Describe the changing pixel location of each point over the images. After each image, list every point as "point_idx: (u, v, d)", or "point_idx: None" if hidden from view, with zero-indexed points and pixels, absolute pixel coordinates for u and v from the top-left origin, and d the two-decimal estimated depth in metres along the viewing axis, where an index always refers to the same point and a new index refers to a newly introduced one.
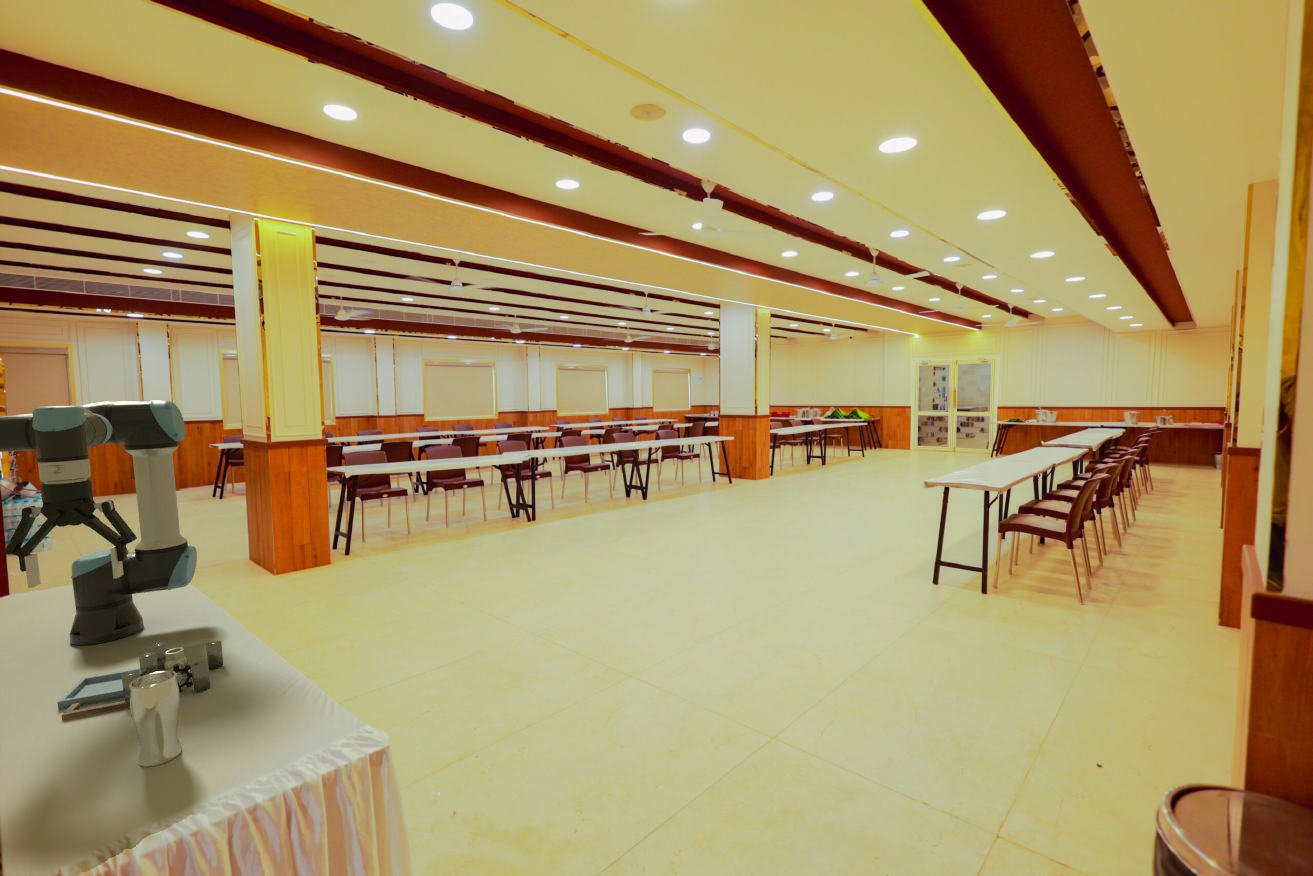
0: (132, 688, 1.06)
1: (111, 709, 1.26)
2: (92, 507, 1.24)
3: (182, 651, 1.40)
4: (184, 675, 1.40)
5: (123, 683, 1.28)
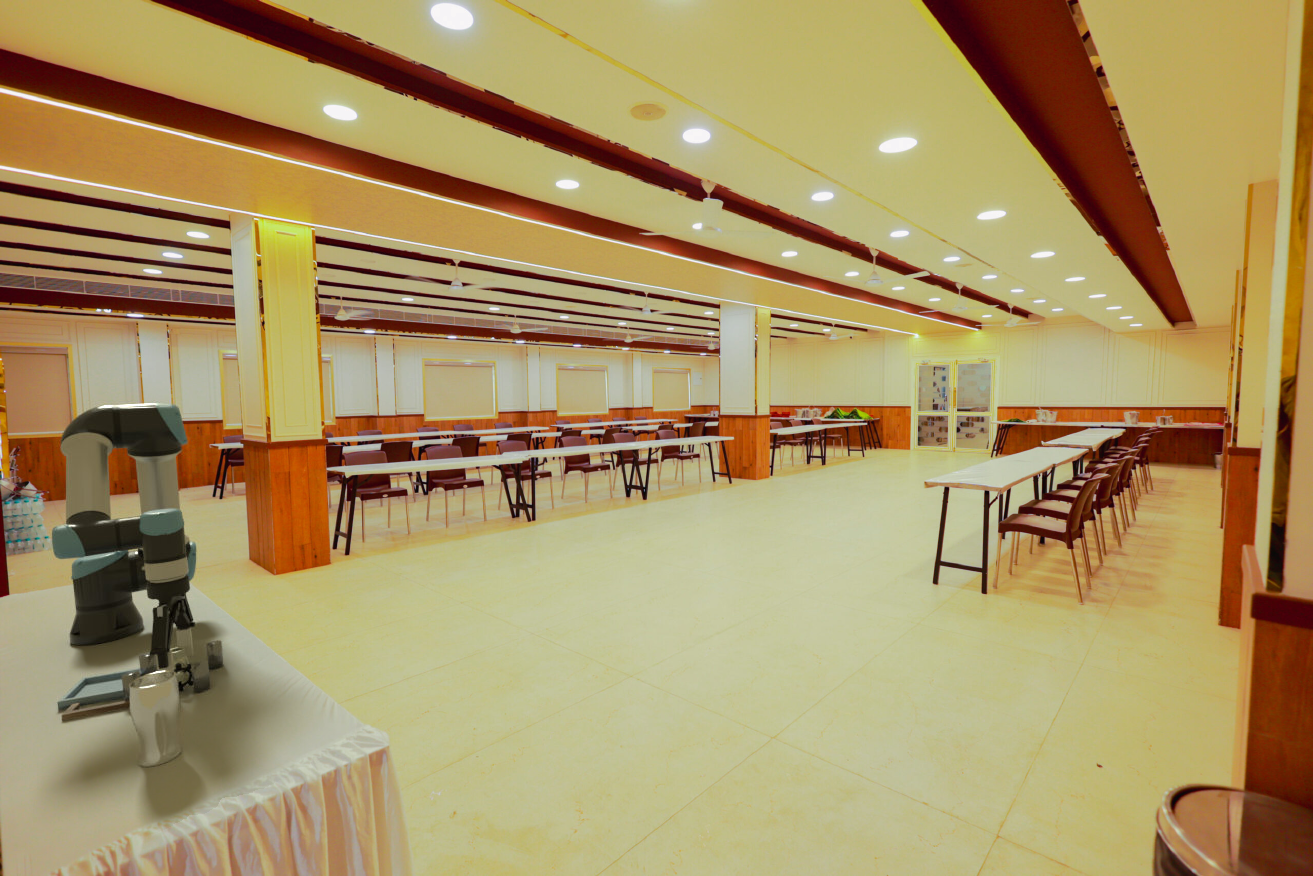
0: (132, 688, 1.06)
1: (111, 709, 1.26)
2: None
3: (183, 650, 1.41)
4: (185, 674, 1.41)
5: (123, 683, 1.28)
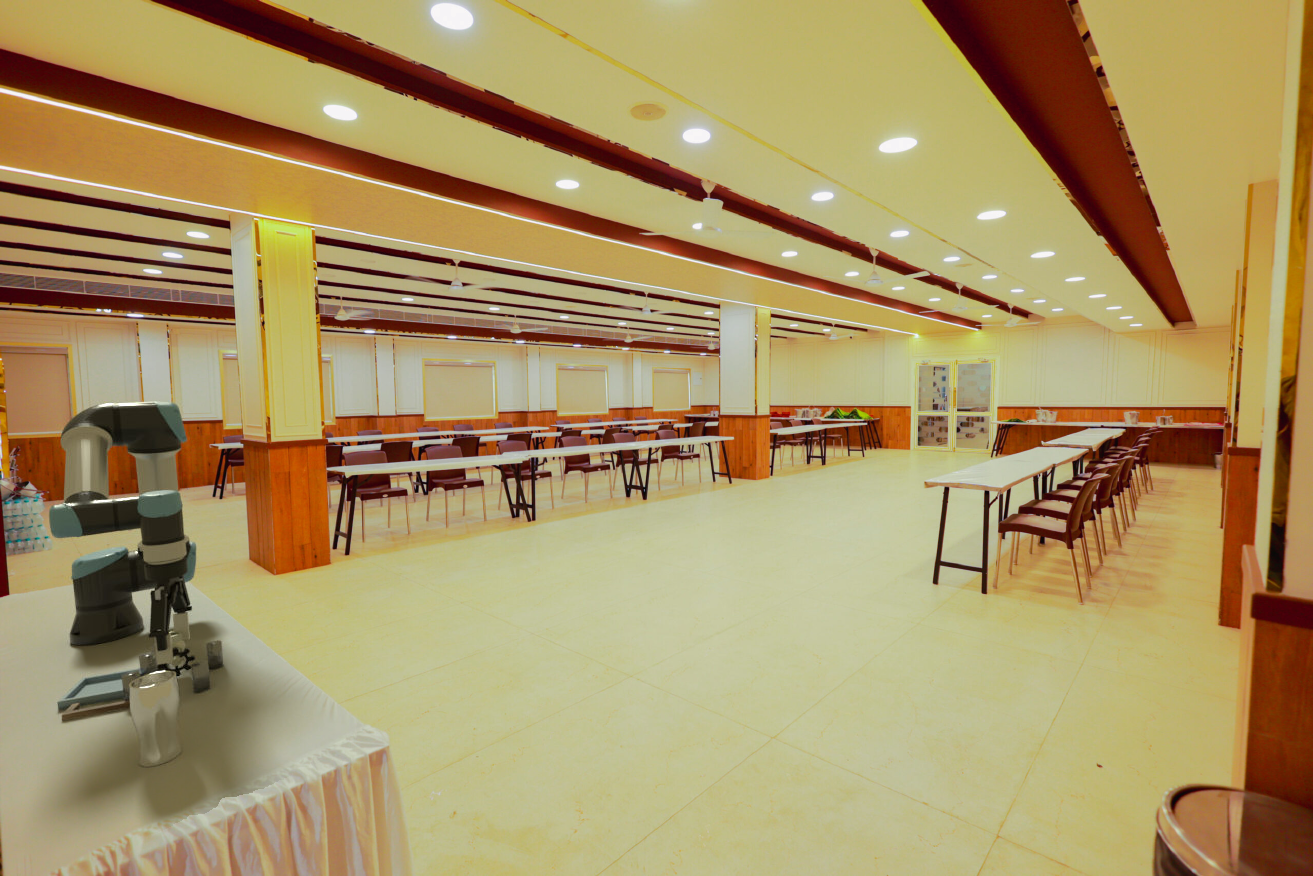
0: (132, 688, 1.06)
1: (111, 709, 1.26)
2: None
3: (180, 634, 1.40)
4: (182, 658, 1.41)
5: (123, 683, 1.28)
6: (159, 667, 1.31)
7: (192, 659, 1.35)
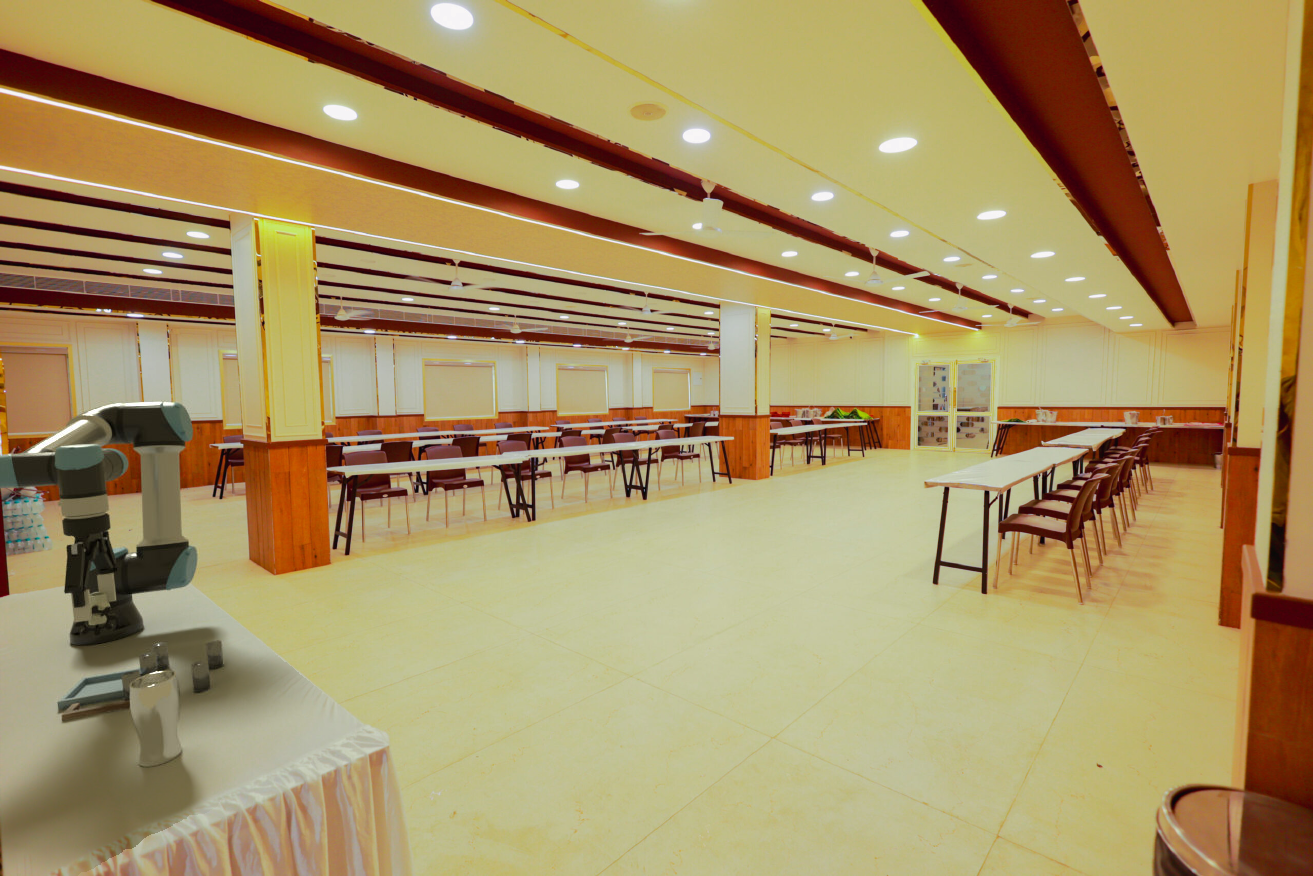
0: (132, 688, 1.06)
1: (111, 709, 1.26)
2: None
3: (104, 595, 1.36)
4: (106, 620, 1.36)
5: (123, 683, 1.28)
6: (77, 625, 1.27)
7: (113, 618, 1.31)
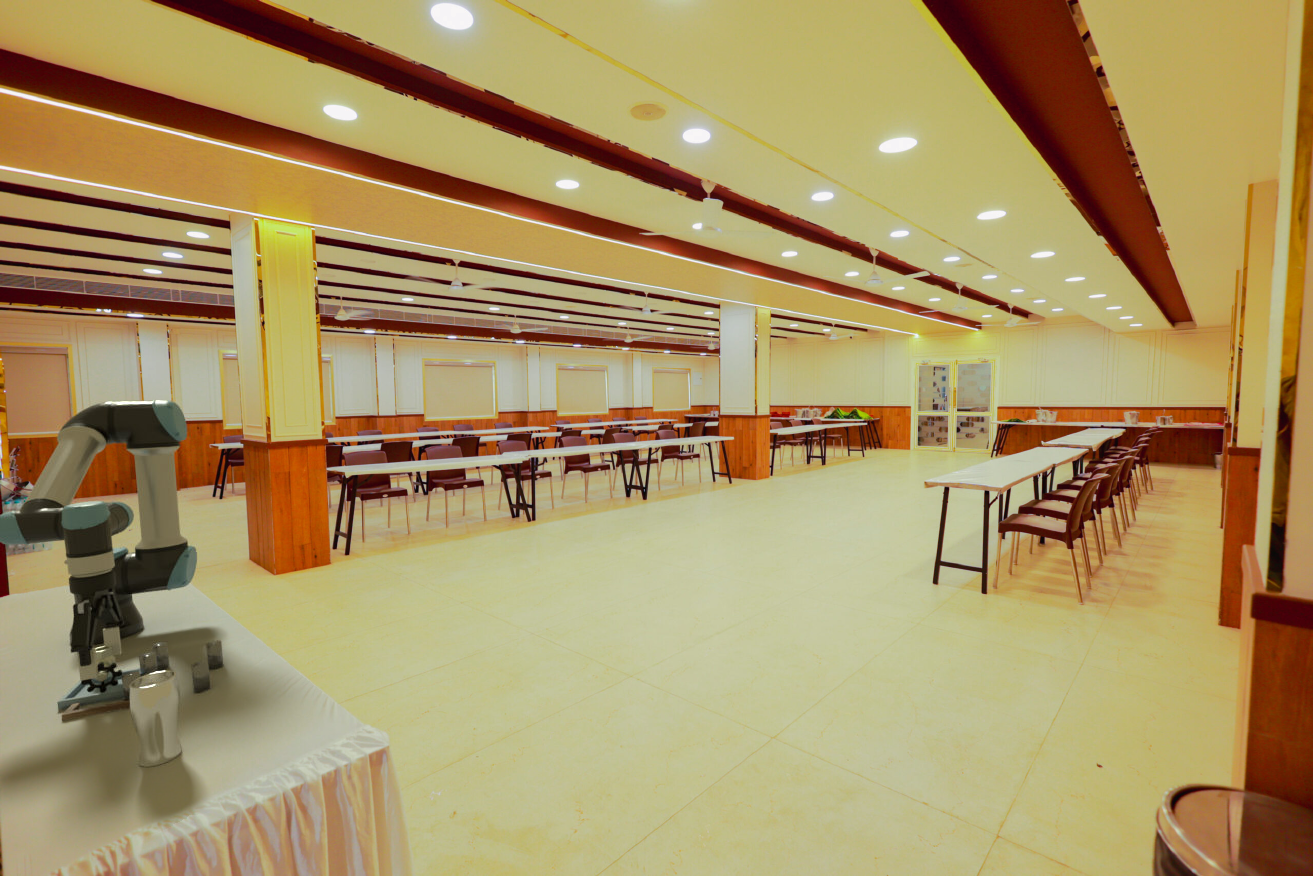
0: (132, 688, 1.06)
1: (111, 709, 1.26)
2: None
3: (110, 649, 1.37)
4: (112, 674, 1.38)
5: (123, 683, 1.28)
6: (83, 683, 1.28)
7: (119, 674, 1.32)
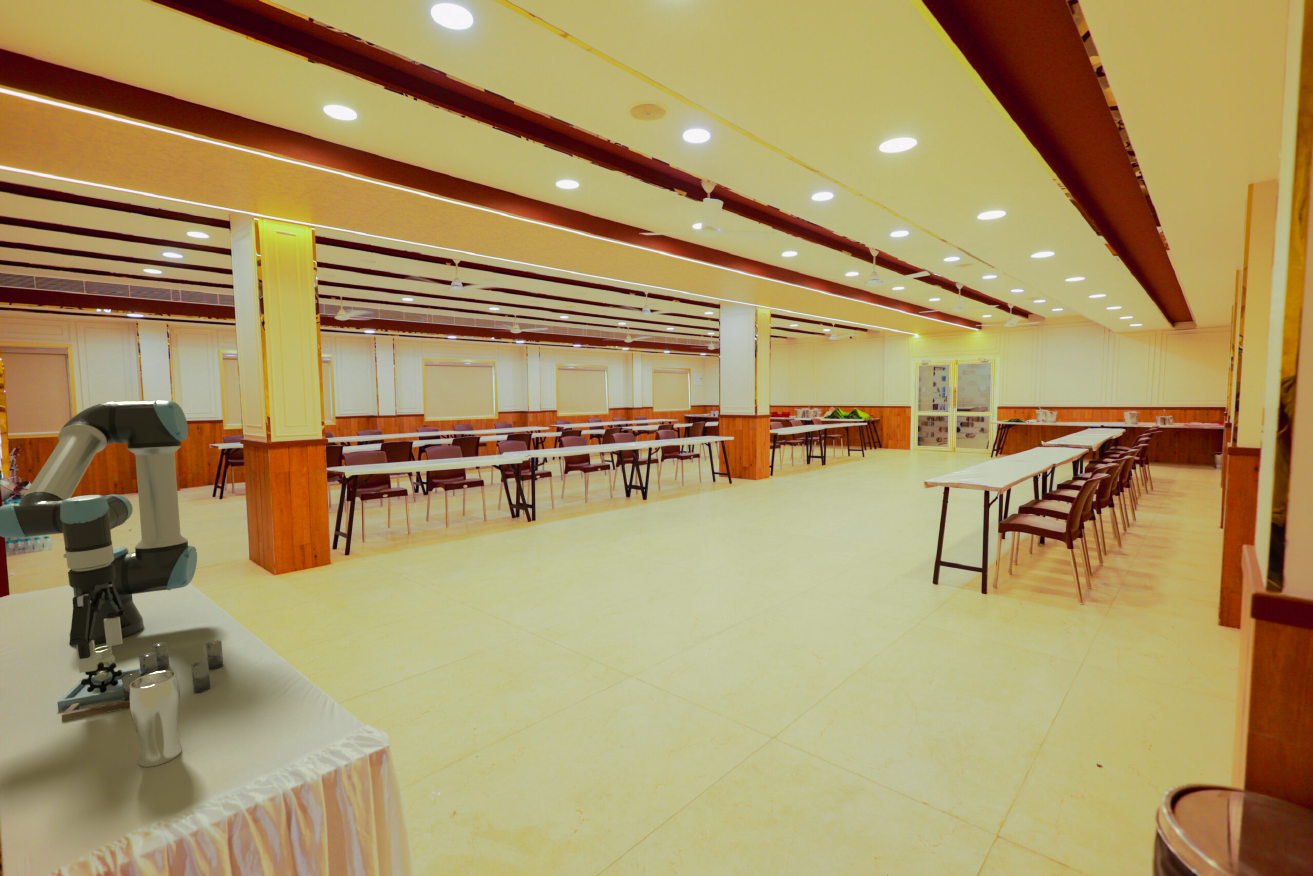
0: (132, 688, 1.06)
1: (111, 709, 1.26)
2: None
3: (109, 649, 1.37)
4: (112, 674, 1.38)
5: (123, 683, 1.28)
6: (83, 683, 1.28)
7: (119, 674, 1.32)
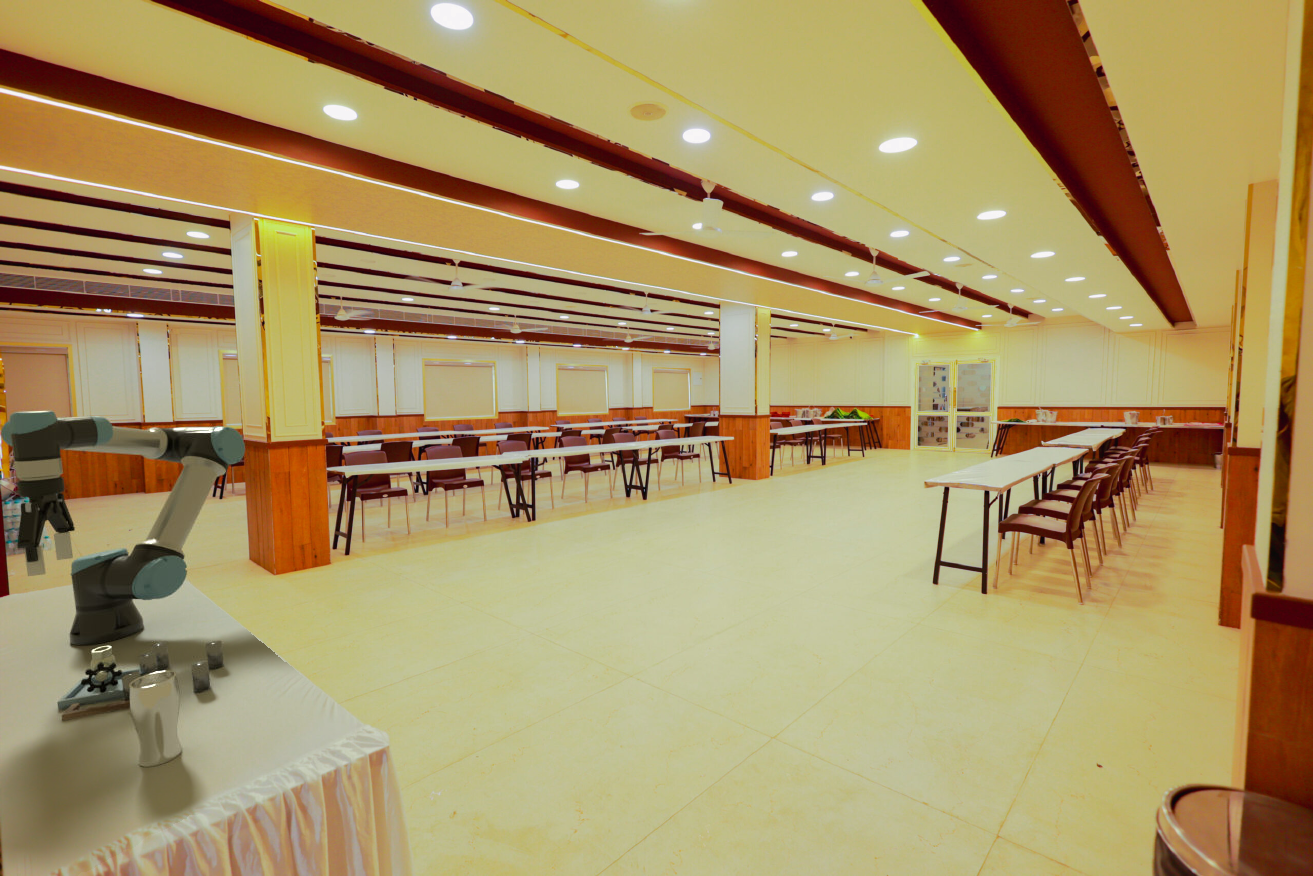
0: (132, 688, 1.06)
1: (111, 709, 1.26)
2: None
3: (109, 649, 1.37)
4: (112, 674, 1.38)
5: (123, 683, 1.28)
6: (83, 683, 1.28)
7: (119, 674, 1.32)
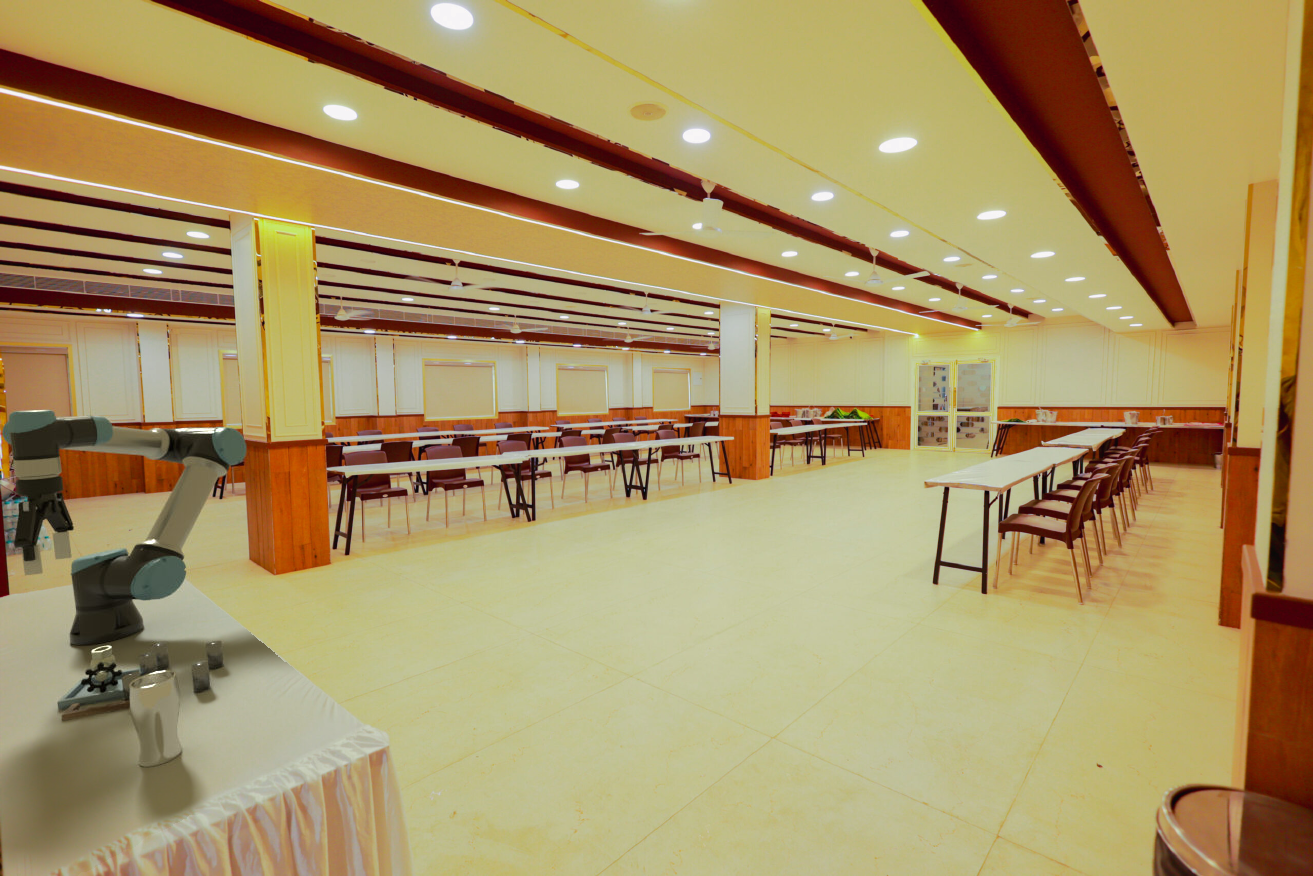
0: (132, 688, 1.06)
1: (111, 709, 1.26)
2: None
3: (109, 649, 1.37)
4: (112, 674, 1.38)
5: (123, 683, 1.28)
6: (83, 683, 1.28)
7: (119, 674, 1.32)
